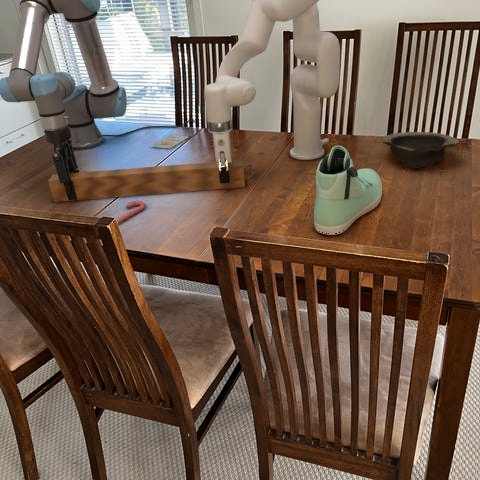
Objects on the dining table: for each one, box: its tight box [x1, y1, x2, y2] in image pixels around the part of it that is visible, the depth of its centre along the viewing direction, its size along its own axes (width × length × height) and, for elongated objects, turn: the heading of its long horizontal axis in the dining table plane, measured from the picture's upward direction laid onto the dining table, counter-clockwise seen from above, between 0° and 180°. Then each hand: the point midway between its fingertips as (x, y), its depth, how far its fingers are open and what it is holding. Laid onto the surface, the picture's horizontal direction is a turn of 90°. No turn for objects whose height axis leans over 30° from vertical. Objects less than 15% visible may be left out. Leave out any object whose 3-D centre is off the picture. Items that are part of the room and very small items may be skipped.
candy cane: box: [115, 200, 146, 225], centre depth 145 cm, size 6×15×2 cm, turn 145°
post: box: [47, 159, 246, 203], centre depth 157 cm, size 62×5×8 cm, turn 92°
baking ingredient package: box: [152, 134, 189, 149], centre depth 198 cm, size 9×1×15 cm
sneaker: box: [313, 145, 383, 236], centre depth 133 cm, size 14×35×20 cm, turn 152°
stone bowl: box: [381, 131, 461, 169], centre depth 164 cm, size 25×25×9 cm
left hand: (75, 195), depth 158 cm, fingers closed on post, 5 cm apart
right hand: (224, 178), depth 157 cm, fingers closed on post, 5 cm apart
